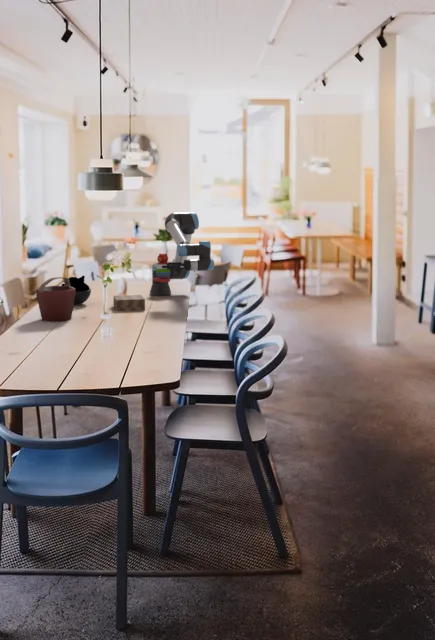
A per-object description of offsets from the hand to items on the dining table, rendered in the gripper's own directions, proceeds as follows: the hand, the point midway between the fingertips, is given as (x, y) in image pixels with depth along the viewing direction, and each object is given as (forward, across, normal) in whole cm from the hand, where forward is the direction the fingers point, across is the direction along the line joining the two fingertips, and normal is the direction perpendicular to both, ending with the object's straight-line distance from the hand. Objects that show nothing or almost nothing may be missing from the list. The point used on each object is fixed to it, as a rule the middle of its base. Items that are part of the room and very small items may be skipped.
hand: (155, 265), depth 508 cm
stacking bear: (-5, 0, -10) cm, 11 cm away
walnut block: (+17, 0, -27) cm, 32 cm away
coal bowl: (+50, +20, -28) cm, 60 cm away
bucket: (+64, -32, -27) cm, 76 cm away
